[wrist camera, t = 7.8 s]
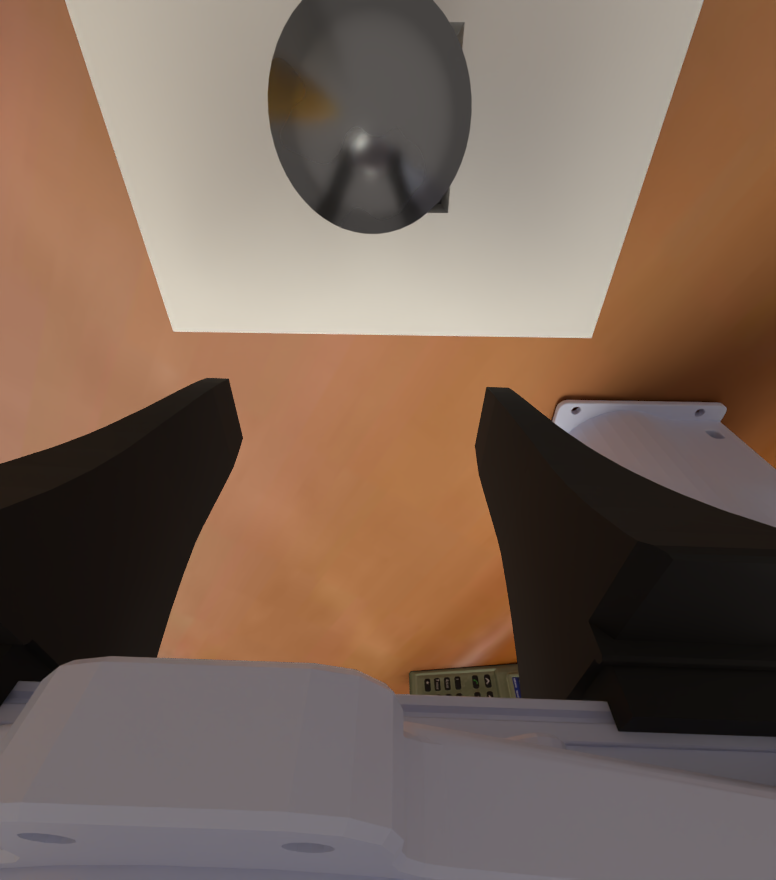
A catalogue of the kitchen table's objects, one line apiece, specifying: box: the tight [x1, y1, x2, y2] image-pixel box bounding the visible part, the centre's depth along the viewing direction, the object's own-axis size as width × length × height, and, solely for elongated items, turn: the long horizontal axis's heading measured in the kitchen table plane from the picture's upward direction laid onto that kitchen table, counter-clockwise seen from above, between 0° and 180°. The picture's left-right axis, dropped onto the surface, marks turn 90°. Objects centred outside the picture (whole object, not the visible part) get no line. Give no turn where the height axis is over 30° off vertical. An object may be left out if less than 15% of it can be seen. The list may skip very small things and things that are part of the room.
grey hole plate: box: [65, 0, 704, 338], centre depth 14 cm, size 18×14×4 cm
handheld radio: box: [409, 664, 521, 698], centre depth 41 cm, size 7×3×25 cm
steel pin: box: [268, 0, 472, 234], centre depth 11 cm, size 4×4×10 cm
